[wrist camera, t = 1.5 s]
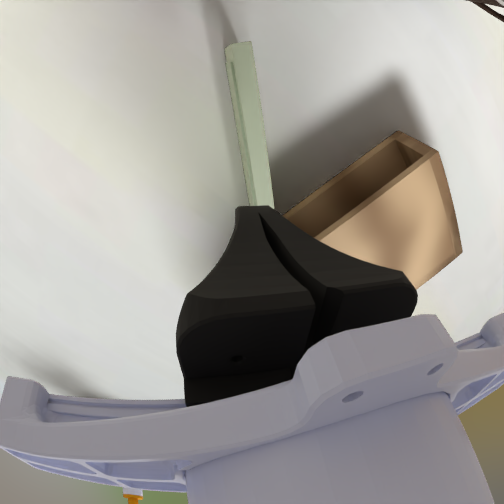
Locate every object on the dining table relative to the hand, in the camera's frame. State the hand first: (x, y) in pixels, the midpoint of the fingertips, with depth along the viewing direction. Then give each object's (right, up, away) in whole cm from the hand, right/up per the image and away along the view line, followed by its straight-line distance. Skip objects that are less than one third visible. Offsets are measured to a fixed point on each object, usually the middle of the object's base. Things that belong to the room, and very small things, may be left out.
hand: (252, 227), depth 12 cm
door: (0, +7, +7) cm, 10 cm away
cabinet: (+10, +1, +14) cm, 17 cm away
